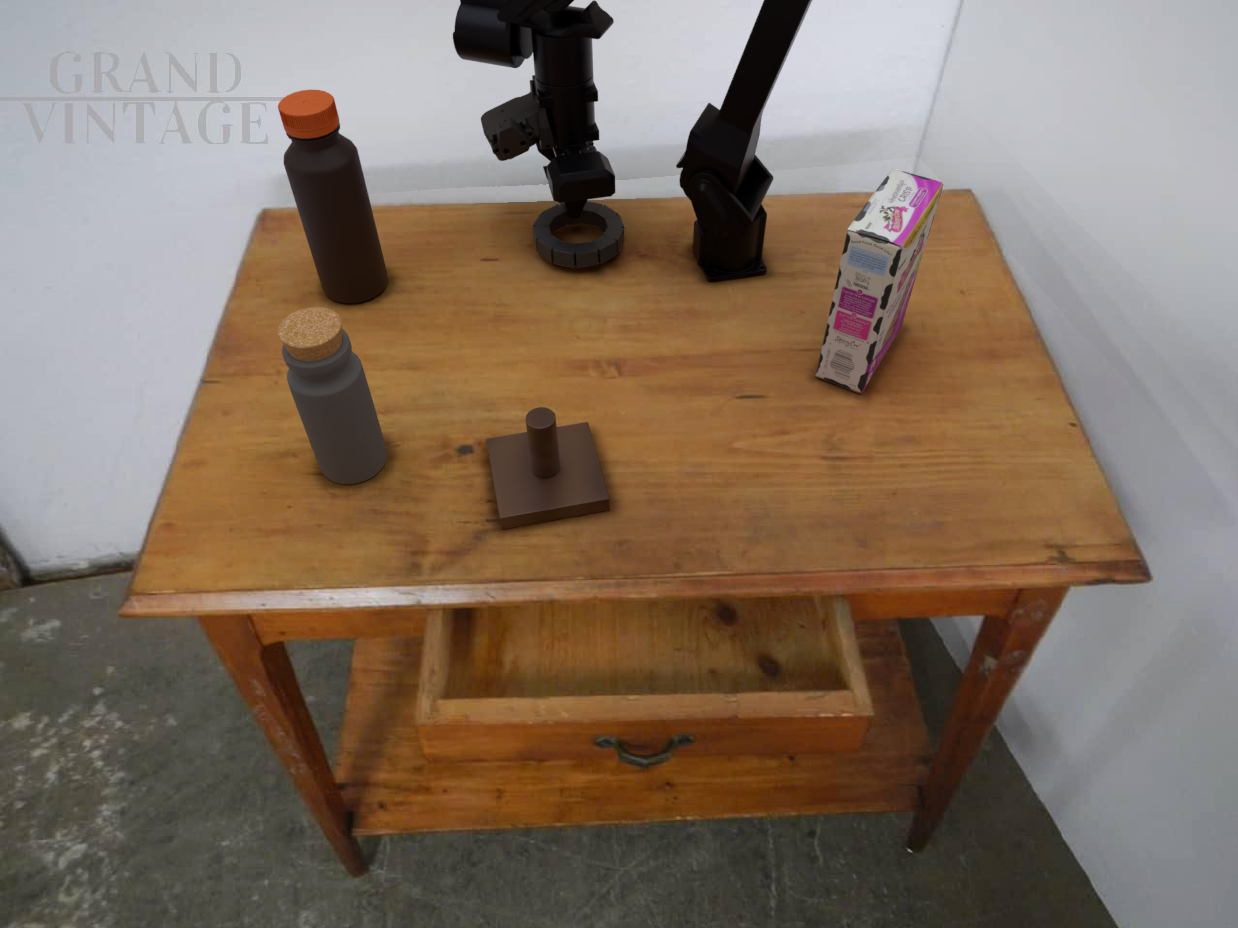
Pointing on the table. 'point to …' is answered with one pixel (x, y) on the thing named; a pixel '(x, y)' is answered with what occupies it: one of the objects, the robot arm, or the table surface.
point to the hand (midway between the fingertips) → (572, 212)
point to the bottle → (332, 396)
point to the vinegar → (332, 198)
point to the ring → (580, 252)
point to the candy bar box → (877, 277)
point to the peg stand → (546, 472)
